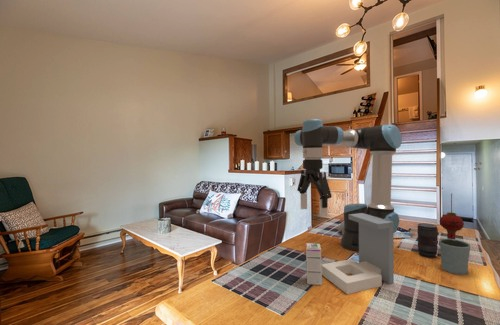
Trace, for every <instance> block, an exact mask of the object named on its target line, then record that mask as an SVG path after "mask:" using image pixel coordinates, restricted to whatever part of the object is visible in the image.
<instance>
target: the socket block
mask: <svg viewBox="0 0 500 325" xmlns="http://www.w3.org/2000/svg"><path fill="white" fill-rule="evenodd" d="M349 219H350V220H353V221H356V222H359V251H358V261H357V260H354V259H352V258H350V259H344V260H338V261H334V262H328V263H322V277H324V278H326V279H327V280H328V281H330V282H331V283H332V284H333V285H335V287H337V288H338V289H340V290H341V291H342V292H344V293H345V294H347V295H350V294H355V293H358V292H362V291H367V290H370V289H376V288H379V287H382V286H383V285H382V284H383V283H382V281H384V282H385V283H387V284H389V285H391V284H394V283H395V281H394V267H395V266H394V263H395V262H394V259H395V258H394V257H395V256H394V249H395V248H394V240H395V239H394V234H395V233H394V226H393V222H392V221H388V220H385V219H381V218H378V217H374V216H371V215H367V214H364V213H358V214H349ZM350 274H351V275H350Z"/></svg>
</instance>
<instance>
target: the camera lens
mask: <svg viewBox="0 0 500 325" xmlns="http://www.w3.org/2000/svg"><path fill="white" fill-rule="evenodd" d="M416 228H417V251H418V253H419V255H420V256H421V257H425V258H428V259H429V258H430V259H435V258H436V257H437V254H438V248H439V247H438V244H439V240H438V236H439V235H438V234H439V233H438V232H439V229H438V225H436V224H432V223H423V222H422V223H418V224H417V227H416Z"/></svg>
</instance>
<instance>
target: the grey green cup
mask: <svg viewBox="0 0 500 325" xmlns="http://www.w3.org/2000/svg"><path fill="white" fill-rule="evenodd" d="M438 243H439V246H440V247H439V248H440V264H441V269H443V271H445V272H448V273H450V274H454V275H460V276H461V275H462V276H465V275H467V274H469V273H468V272H469V271H468V270H469V260H470V254H471V253H470V251H471V244H470V243H468V242H467V241H463V240H460V239H456V238H455V239H447V238H441V239H439V240H438Z"/></svg>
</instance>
